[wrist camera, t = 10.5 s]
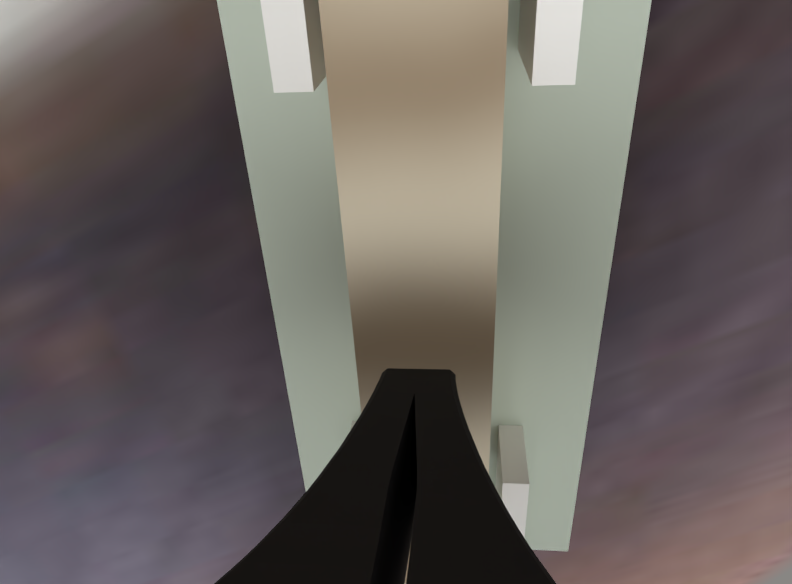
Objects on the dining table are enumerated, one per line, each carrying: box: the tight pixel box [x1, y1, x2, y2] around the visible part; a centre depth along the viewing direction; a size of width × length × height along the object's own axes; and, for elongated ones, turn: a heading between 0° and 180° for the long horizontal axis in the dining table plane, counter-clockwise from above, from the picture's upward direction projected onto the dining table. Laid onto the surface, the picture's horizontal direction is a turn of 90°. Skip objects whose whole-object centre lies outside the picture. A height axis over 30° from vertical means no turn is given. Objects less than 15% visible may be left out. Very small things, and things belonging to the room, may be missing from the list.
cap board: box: [217, 0, 652, 551], centre depth 19 cm, size 24×10×1 cm, turn 3°
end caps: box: [260, 0, 584, 584], centre depth 17 cm, size 23×6×4 cm, turn 3°
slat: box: [318, 0, 509, 583], centre depth 16 cm, size 16×3×5 cm, turn 3°
